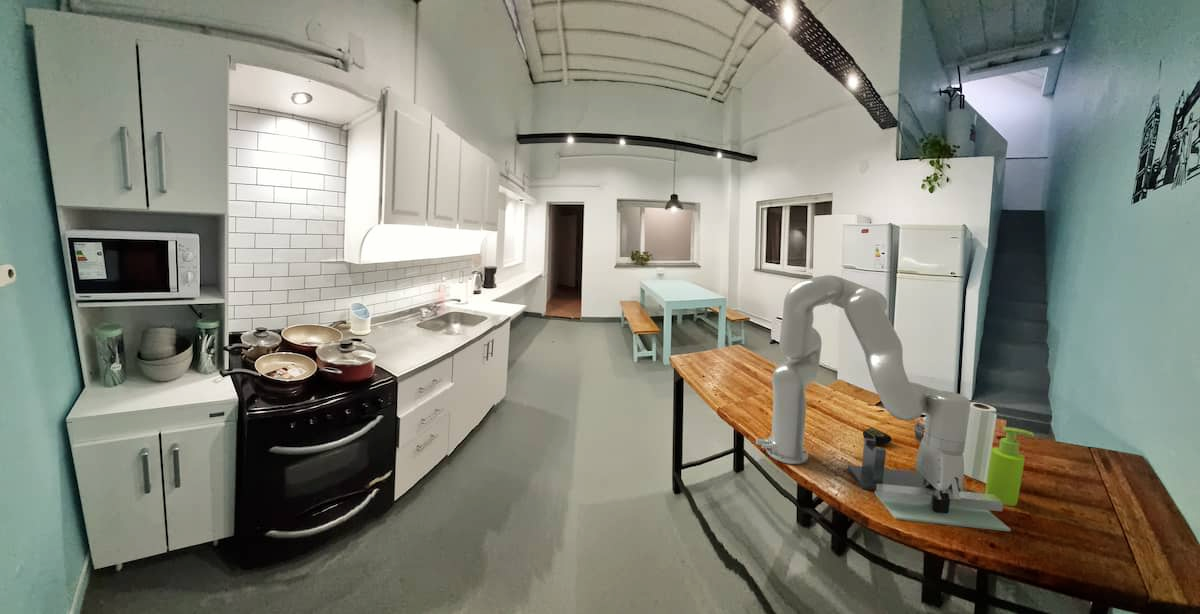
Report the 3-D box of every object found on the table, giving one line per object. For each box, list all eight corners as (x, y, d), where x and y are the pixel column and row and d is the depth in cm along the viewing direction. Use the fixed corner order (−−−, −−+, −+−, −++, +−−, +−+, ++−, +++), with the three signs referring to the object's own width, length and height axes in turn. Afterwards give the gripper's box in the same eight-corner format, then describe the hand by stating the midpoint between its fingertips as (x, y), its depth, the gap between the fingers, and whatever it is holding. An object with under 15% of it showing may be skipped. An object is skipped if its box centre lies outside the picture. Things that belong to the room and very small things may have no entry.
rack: (861, 488, 103) (865, 451, 102) (847, 469, 112) (850, 435, 110) (970, 499, 98) (976, 459, 96) (946, 478, 107) (951, 442, 105)
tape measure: (891, 445, 125) (893, 435, 125) (877, 448, 123) (878, 438, 123) (871, 435, 132) (873, 426, 131) (857, 439, 130) (858, 429, 129)
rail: (881, 499, 95) (882, 490, 95) (875, 492, 98) (876, 483, 98) (1001, 511, 90) (1003, 502, 89) (991, 503, 93) (993, 494, 92)
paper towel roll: (957, 465, 113) (966, 399, 110) (985, 473, 109) (996, 405, 105) (956, 475, 108) (966, 407, 105) (986, 484, 104) (997, 413, 100)
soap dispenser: (1027, 510, 94) (1039, 437, 90) (989, 501, 97) (1000, 431, 94) (1017, 496, 98) (1029, 427, 95) (981, 488, 102) (991, 421, 99)
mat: (895, 519, 92) (895, 516, 92) (874, 493, 101) (874, 491, 101) (1010, 531, 87) (1010, 529, 87) (976, 503, 97) (977, 501, 96)
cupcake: (923, 433, 132) (926, 407, 130) (956, 447, 123) (960, 419, 121) (905, 438, 129) (908, 412, 127) (937, 452, 120) (941, 424, 118)
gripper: (906, 424, 100) (899, 485, 103) (949, 457, 84) (940, 528, 87) (938, 426, 98) (930, 488, 101) (988, 460, 83) (977, 533, 85)
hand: (935, 506), depth 94 cm, fingers closed on rail, 3 cm apart
